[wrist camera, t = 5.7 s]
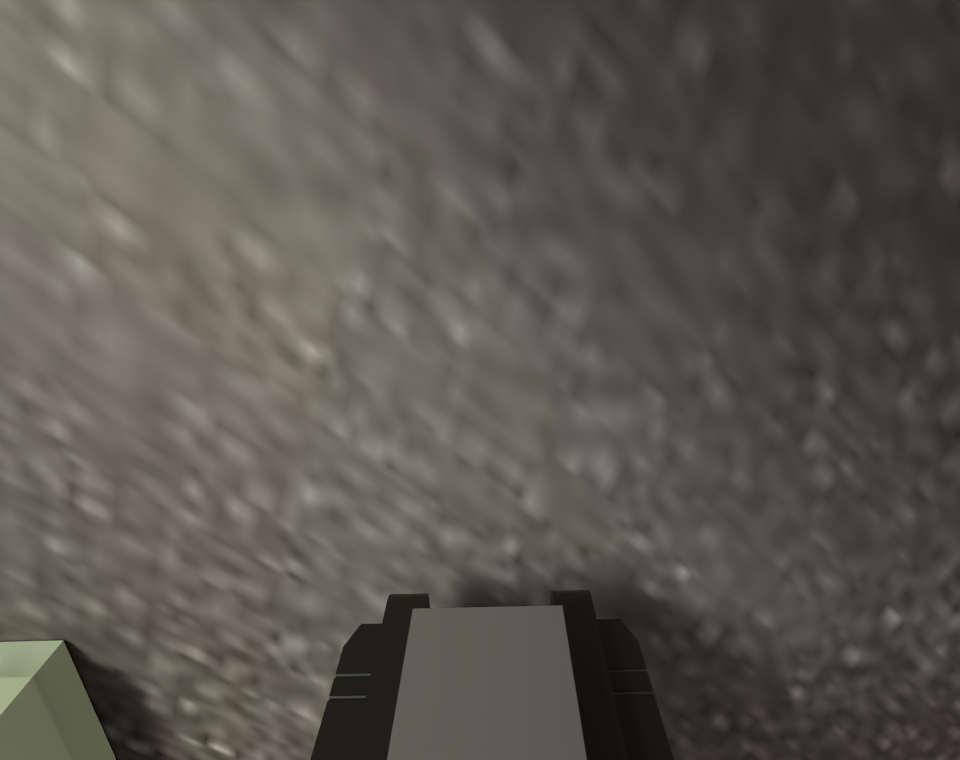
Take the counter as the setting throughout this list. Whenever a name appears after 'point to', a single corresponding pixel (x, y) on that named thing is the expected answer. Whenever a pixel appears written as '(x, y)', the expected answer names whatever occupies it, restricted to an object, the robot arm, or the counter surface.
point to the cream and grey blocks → (487, 687)
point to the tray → (46, 706)
